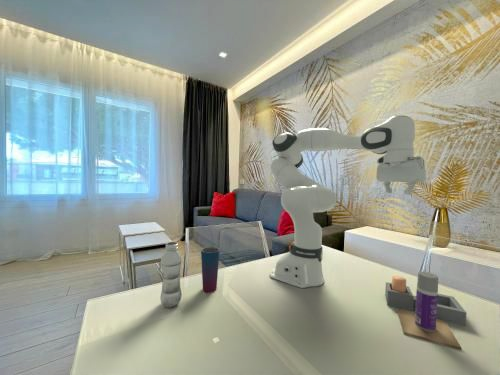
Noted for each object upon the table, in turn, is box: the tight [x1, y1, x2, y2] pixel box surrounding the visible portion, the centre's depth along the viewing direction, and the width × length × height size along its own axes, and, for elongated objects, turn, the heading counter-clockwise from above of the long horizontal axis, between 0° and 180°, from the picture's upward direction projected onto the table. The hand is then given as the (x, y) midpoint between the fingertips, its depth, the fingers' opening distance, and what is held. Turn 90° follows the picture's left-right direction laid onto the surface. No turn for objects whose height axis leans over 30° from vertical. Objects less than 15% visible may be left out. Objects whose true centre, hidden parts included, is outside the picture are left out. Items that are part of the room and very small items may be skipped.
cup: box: [200, 246, 221, 294], centre depth 82 cm, size 7×7×15 cm
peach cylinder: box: [391, 275, 407, 293], centre depth 76 cm, size 4×4×8 cm
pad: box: [396, 308, 462, 351], centre depth 63 cm, size 12×12×1 cm
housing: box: [384, 281, 467, 327], centre depth 74 cm, size 20×10×5 cm, turn 64°
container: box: [414, 271, 439, 332], centre depth 63 cm, size 5×5×15 cm
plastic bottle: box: [160, 241, 183, 308], centre depth 72 cm, size 6×7×20 cm
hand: (397, 193), depth 87 cm, fingers open, 8 cm apart
